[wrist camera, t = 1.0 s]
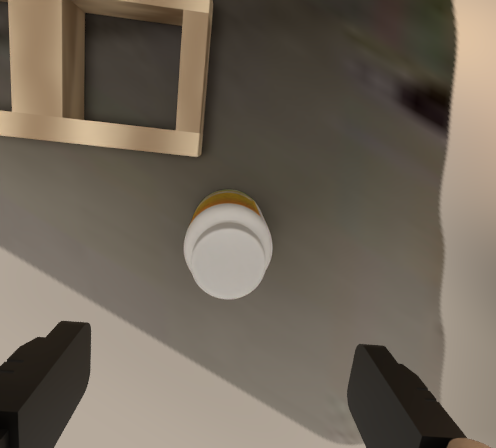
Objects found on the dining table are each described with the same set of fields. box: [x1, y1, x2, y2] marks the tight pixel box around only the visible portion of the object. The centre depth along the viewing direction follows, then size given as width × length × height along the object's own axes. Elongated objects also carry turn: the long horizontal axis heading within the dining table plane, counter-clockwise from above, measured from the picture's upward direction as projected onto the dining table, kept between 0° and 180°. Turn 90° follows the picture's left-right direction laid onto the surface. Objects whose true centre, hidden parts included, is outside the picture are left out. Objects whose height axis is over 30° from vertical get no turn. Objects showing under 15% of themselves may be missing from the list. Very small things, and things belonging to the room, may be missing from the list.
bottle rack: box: [0, 0, 213, 157], centre depth 23 cm, size 20×10×4 cm, turn 84°
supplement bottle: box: [184, 189, 273, 299], centre depth 24 cm, size 5×5×10 cm
